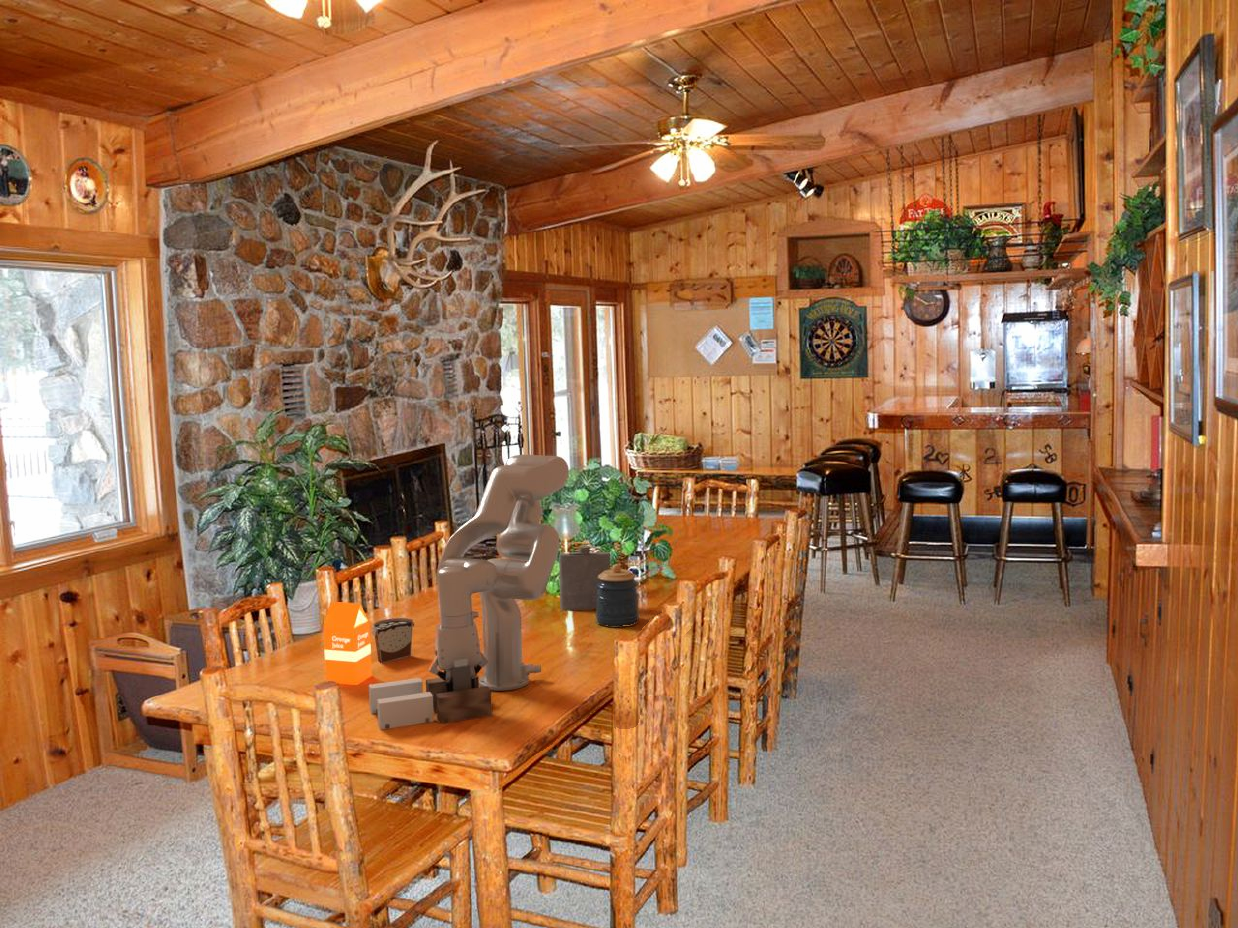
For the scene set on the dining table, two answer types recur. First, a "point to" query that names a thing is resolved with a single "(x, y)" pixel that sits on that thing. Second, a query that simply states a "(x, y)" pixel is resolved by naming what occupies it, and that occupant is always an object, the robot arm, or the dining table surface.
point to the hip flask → (581, 578)
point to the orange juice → (347, 644)
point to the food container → (393, 638)
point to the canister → (617, 597)
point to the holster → (459, 701)
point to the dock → (401, 703)
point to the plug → (461, 675)
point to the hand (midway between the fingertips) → (460, 694)
